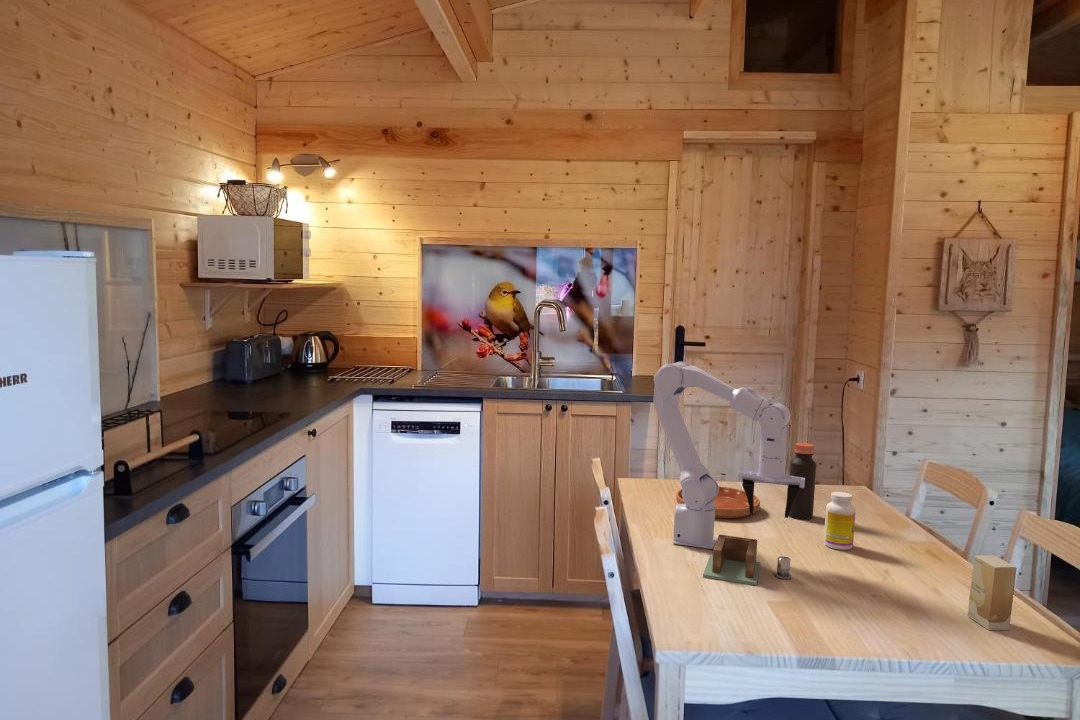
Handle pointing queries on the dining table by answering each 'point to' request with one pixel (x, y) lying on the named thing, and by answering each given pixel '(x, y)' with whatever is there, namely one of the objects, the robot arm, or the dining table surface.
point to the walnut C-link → (735, 553)
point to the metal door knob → (783, 568)
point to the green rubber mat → (732, 571)
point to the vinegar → (806, 469)
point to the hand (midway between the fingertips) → (768, 514)
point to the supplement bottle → (839, 522)
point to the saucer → (729, 503)
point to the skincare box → (991, 592)
